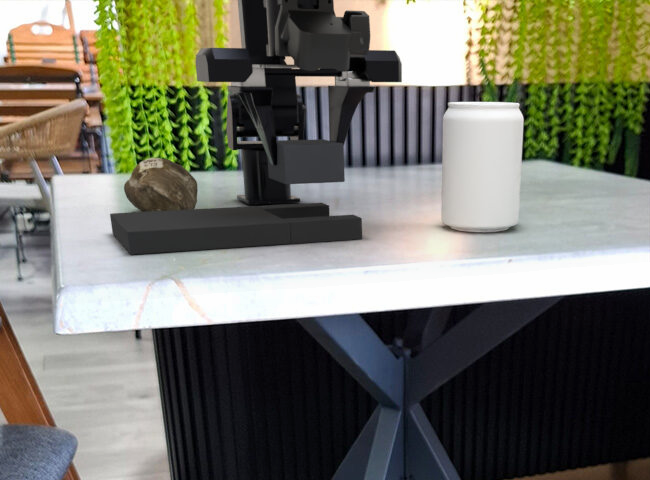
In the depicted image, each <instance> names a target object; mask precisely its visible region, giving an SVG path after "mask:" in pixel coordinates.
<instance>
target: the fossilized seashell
mask: <svg viewBox="0 0 650 480" xmlns="http://www.w3.org/2000/svg"><path fill="white" fill-rule="evenodd" d="M123 190H124V194H125V196H126V199H127V200H128V201H129V203H131V205H132V206H133V207H134V208H136V209H137V210H139V211H140V212H151V211H170V210H189V209H196V206H197V204H198V191H199V190H198V182H197V179H196V178H195V177H194V176H193V175H192V174H191V172H190V171H188V170H187V169H185V168H184V166H182V165H180V164H179V163H176V162H174V161H172V160H170V159H167V158H161V157H150V158H146V159H144V160H142V161H140V162H139V163H138V164H137V165H135V167H134V168H133V169H132V172H131V175H130V177H129V179H127V180H126V181H125V183H124V186H123Z"/></svg>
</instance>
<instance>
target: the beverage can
mask: <svg viewBox="0 0 650 480" xmlns="http://www.w3.org/2000/svg"><path fill="white" fill-rule="evenodd" d="M520 106H521V105H520V103H519V102H508V101H507V102H506V101H451V102H450V101H449V102H447V109H446V110H445V112H444V114H443V117H442V146H441V147H442V149H441V150H442V152H441V153H442V154H441V209H440V210H441V213H440V215H441V223H442V224H444V225H446V226H448V227H449V228H450V229H451V230H454V231H455V230H456V231H460V232H469V233H496V232H502V231H507V230H509V229H510V228H511V227H513V226H516V225H517V224H519V218H520V198H521V181H522V180H521V179H522V163H523V162H522V159H523V143H524V121H525V120H524V115H523V113H522V111H521V110H520Z"/></svg>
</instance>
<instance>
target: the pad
mask: <svg viewBox="0 0 650 480" xmlns="http://www.w3.org/2000/svg"><path fill="white" fill-rule="evenodd" d="M276 142H277V165H272V164H271V163H270V160H269V158H268V156H267V158H268V173H269V178H271V179H273V180H276V181H279V182H281V183H284V184H291V185H303V184H304V185H305V184H306V185H307V184H324V183H325V184H326V183H327V184H328V183H329V184H330V183H344V182H346V181H345V148H344V146H345V143H344V144H343V143H338V142H333V141H330V140H328V139H304V140H290V139H283V140H282V139H281V140H276Z"/></svg>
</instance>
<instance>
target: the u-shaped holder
mask: <svg viewBox="0 0 650 480" xmlns="http://www.w3.org/2000/svg"><path fill="white" fill-rule="evenodd" d="M109 218H110V226H111V232H112V235H113V236H114V237H115V239H116V240H117V241H118V242H119V243H120V244H121V245H122V247H123V248H124V249H125V250H126V251H127V253H129V255H131V256H134V255H149V254H162V253H164V254H165V253H177V252H178V253H179V252H193V251H207V250H208V251H209V250H223V249H236V248H250V247H264V246H265V247H266V246H279V245H294V244H297V245H298V244H309V243H323V242H324V243H325V242H339V241H340V242H341V241H353V240H355V241H356V240H363V218H362V217H361V216H357V215H355V214H341V215H340V214H339V215H331V214H330V205H329V204H327V203H324V202H306V203H284V204H264V205H250V206H249V205H247V206H232V207H231V206H229V207H210V208H194V209H189V210H170V211H151V212H142V211H136V212H135V211H134V212H116V213H109Z"/></svg>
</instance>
